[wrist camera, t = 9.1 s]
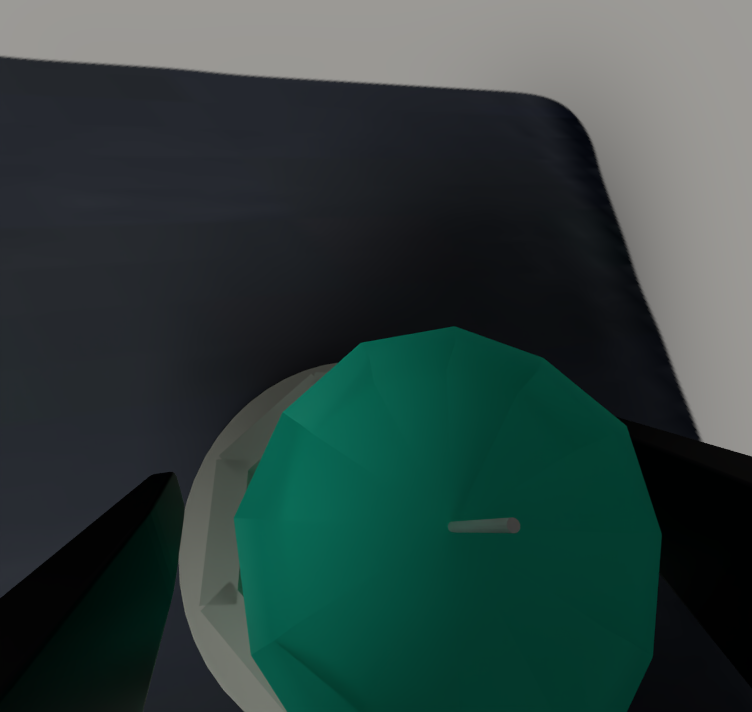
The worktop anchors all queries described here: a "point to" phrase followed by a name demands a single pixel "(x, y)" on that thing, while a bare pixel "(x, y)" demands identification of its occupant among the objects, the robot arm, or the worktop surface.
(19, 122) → the worktop surface
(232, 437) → the candle dish
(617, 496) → the candle
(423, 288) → the worktop surface
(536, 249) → the worktop surface
